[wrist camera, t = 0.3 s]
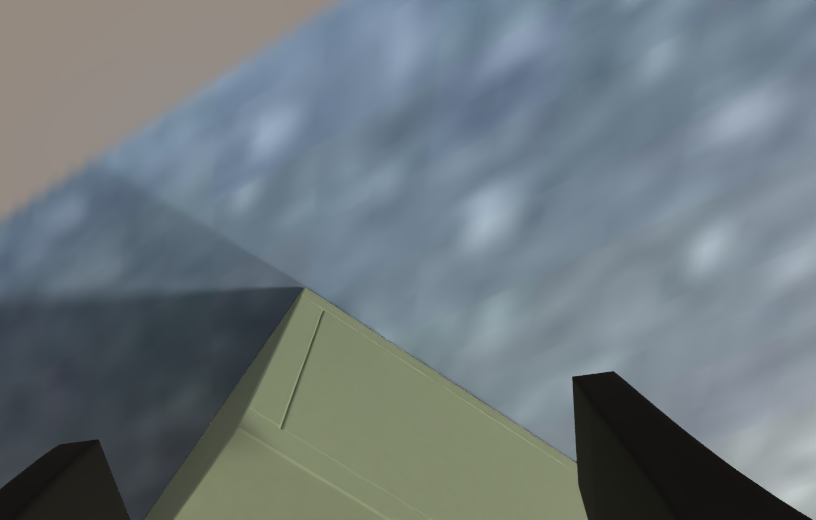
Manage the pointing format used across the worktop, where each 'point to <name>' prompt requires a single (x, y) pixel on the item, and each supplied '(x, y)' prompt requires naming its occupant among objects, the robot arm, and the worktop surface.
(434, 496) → the cabinet
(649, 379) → the worktop surface
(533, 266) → the worktop surface
